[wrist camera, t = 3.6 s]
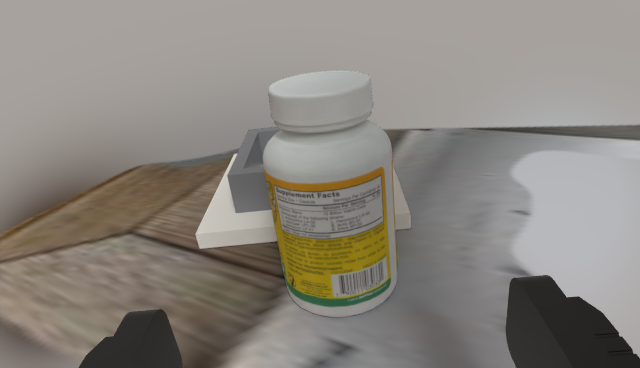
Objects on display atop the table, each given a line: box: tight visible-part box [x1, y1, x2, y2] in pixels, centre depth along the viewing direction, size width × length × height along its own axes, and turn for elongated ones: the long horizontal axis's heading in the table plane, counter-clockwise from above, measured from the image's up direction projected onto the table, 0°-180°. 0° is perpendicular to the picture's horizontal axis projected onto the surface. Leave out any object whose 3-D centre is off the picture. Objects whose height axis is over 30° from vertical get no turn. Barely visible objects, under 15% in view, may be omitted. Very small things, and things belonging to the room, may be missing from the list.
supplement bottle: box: [263, 71, 398, 317], centre depth 19 cm, size 5×5×10 cm
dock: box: [196, 127, 411, 249], centre depth 29 cm, size 12×12×4 cm
